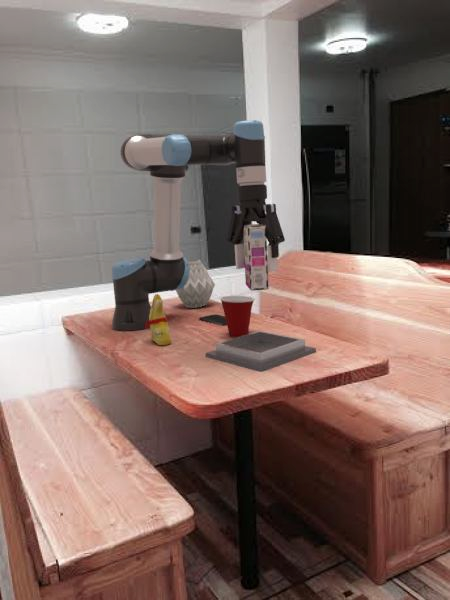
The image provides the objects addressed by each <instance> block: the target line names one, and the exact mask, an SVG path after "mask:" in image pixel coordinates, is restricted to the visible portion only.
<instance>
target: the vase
mask: <svg viewBox="0 0 450 600" xmlns="http://www.w3.org/2000/svg"><path fill="white" fill-rule="evenodd" d="M186 260H187V259H186ZM187 262H188V267H189V278H188V281H187V283H186V285H185V286H184V287H183V288H181V289H176V290H175V292H176V294H177V296H178V298H179V299H180V301H181V302H182V303H183V304H184V307H185V308H187V309H198V308H199V307H201V308H203V307H202V306H205V305H206V306H207V305H208V302H209V301H210V299H211V297H212V293H213V292H214V288H215V286H216V284H215V282H214V280H213V278H212V277H211V276H210V274H209V271H208V269H207V268H206V266H204V264H203V262H202V261H201V259H190V260H187ZM206 306H205V307H206ZM197 307H198V308H197Z"/></svg>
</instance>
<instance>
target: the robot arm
mask: <svg viewBox="0 0 450 600" xmlns="http://www.w3.org/2000/svg"><path fill="white" fill-rule="evenodd" d="M264 130H265V129H264V124H263V122H262V121H260V120H256V119H253V120H252V119H250V120H248V119H247V120H241V121H237V122H235V123H234V125H233V132H232V133H228V134H180V133H179V134H177V133H139V134H137V133H136V134H134V135H131V136H129V137H126V139H124V141H123V142H122V144H121V146H120V157H121V161H122V162H123V163H124V165H126V166H127V167H128V168H129V169H132V170H134V171H138V172H149V176H150V177H151V179H153V180H154V249H153V250H152V251H151V252H150V253H149V259H148V260H146V258H145V257H143V256H142V257H141V256H139V257H138V256H137V257H133V258H127V259H124V260H120V261H118V262H115V263H113V265H112V268H111V271H112V272H111V273H112V275H111V279H112V283H113V294H114V305H115V307H114V311H113V315H112V321H111V323H112V325H111V326H112V329H113V330H115V331H121V332H122V331H123V332H126V331H139V330H145V329H146V327H145V324H146V323H147V321H149V313H150V309H151V306H152V305H151V304H150V297H149V295H151V294H156V293H157V294H158V293H165V292H174V291H176V289H181V288H183V287H184V286H185V285H186V283H187V281H188V278H189V267H188V262H187V258H185V257H184V253H183V252H182V251H181V250H180V226H181V225H180V220H181V218H180V216H181V209H180V208H181V182H182V181H183V179H185V178H186V172H187V171H189V170H190V169H191V168H192V166H208V165H211V166H212V165H216V166H230V165H232V164H235V168H236V172H235V173H236V183H237V185H239V186H237V188H236V191H237V200H238V201H239V202H240V205H232V206H231V218H230V223H229V227H228V233H227V240H226V241H227V242H228V243H231V244H232V246H233V255H234V258H235V259H234V260H235V270H240V269H245V259H244V225H249V224H251V223H252V222H256V224H259V225H266V236H267V242H268V243H267V263H268V272H275V271H278V270H279V268H278V267H279V266H278V265H279V264H278V258H279V256H280V253H279V252H280V251H279V245H280V244H282V243H284V242H285V241H286V239H285V235H284V232H283V230H282V226H281V223H280V220H279V217H278V214H277V205H276V204H275V203H266V199H267V198H268V186H267V184H265V183H266V182H267V170H266V169H267V168H266V142H265V139H266V136H265V132H264ZM147 329H150V324H149V327H148V328H147Z"/></svg>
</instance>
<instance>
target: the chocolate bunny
mask: <svg viewBox="0 0 450 600" xmlns="http://www.w3.org/2000/svg"><path fill="white" fill-rule="evenodd" d="M152 298H153V299H152V305H150V306H151V309H150V313H149V321H147V323H146V324H145V327H146V328H145V329H146V330H148V329H150V333H151V334H150V335H151V339H152V341H153V342H155V343H156V344H157V345H158V346H168V345H170V344H171V343H172V338H171V335H170V334H171V332H170V329H169V324H168V317H166V314H165V311H164V308H163V307H164V306H163V305H164V304H163V303H164V301H163V299H162V297H161V295H160V294H158V293H157V294H156V293H154V295H153V297H152ZM149 324H150V327H149ZM148 327H149V328H148Z"/></svg>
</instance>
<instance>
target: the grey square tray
mask: <svg viewBox="0 0 450 600" xmlns="http://www.w3.org/2000/svg"><path fill="white" fill-rule="evenodd" d="M316 351H317V349H316V347H313V346H307V345H306V339H303V338H298V337H293V336H289V335H285V334H284V335H283V334H279V333H278V334H277V333H274V332H273V333H272V332H270V331H269V332H268V331H263V330H257V331H253V332H251V333H248V334H246V335H243V336H240V337H232V338H230V339H226V340H223V341H220V342H217V343H215V350H211V351H207V352H206V353H205V357H206V358H210V359H214V360H217V361H221V362H224V363H228V364H231V365H235V366H239V367H242V368H246V369H249V370H254V371H257V372H264V371H267V370H270V369H273V368H275V367H278V366H281V365H283V364H287V363H288V362H292V361H294V360H297V359H300V358H303V357H305V356H308V355H310V354H311V355H312V354H313V353H316Z"/></svg>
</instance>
